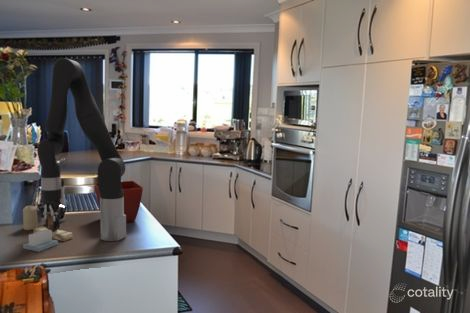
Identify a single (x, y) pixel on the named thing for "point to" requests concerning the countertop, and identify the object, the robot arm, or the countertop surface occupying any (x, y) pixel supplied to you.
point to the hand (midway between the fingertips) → (52, 228)
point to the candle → (30, 217)
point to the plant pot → (128, 198)
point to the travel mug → (62, 199)
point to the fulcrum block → (40, 241)
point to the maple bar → (55, 233)
